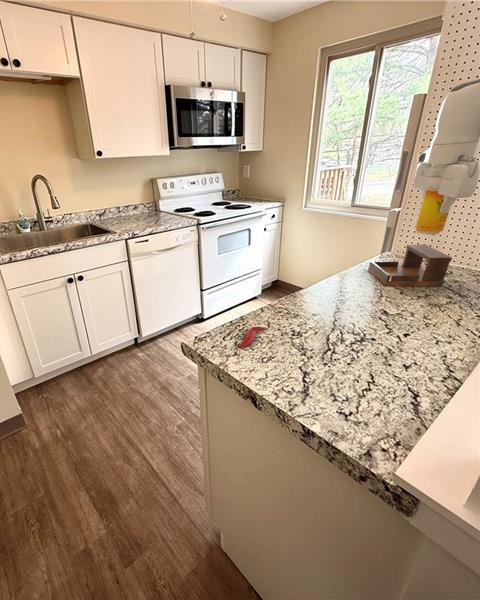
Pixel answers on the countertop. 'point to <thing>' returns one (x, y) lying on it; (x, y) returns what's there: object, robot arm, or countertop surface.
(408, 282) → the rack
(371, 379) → the countertop surface
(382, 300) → the countertop surface
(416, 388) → the countertop surface
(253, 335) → the cayenne pepper
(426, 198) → the beer can
